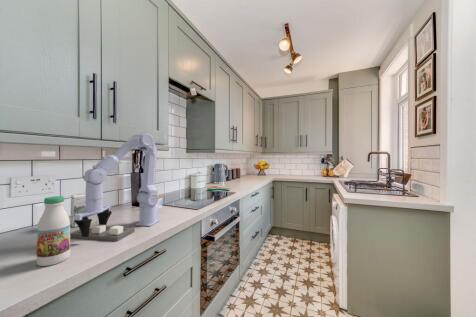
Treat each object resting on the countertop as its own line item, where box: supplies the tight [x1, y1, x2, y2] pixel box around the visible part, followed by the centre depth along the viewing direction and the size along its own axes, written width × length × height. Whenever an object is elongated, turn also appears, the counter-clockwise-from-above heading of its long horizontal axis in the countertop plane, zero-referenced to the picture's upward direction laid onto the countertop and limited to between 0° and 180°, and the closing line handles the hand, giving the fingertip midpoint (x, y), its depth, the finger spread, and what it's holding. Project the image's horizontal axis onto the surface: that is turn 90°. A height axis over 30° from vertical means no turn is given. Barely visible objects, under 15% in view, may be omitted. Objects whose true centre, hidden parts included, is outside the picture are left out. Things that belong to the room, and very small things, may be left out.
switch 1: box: [89, 219, 98, 229], centre depth 87 cm, size 3×4×2 cm
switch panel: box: [70, 225, 136, 242], centre depth 84 cm, size 10×22×2 cm, turn 81°
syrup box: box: [70, 193, 89, 229], centre depth 95 cm, size 6×6×14 cm
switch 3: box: [110, 225, 124, 235], centre depth 81 cm, size 3×4×2 cm
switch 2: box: [92, 223, 107, 234], centre depth 82 cm, size 3×4×2 cm
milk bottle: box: [36, 195, 71, 267], centre depth 63 cm, size 8×8×20 cm
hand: (94, 232), depth 79 cm, fingers open, 7 cm apart
